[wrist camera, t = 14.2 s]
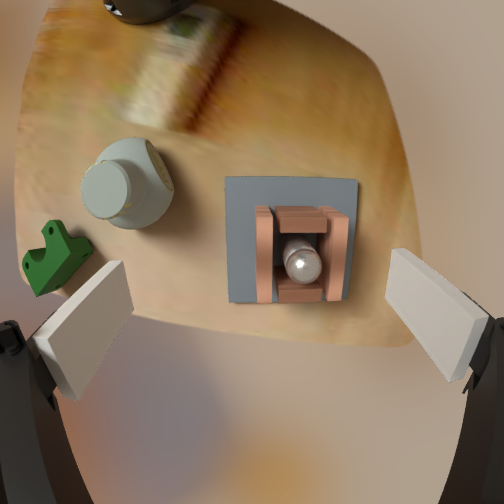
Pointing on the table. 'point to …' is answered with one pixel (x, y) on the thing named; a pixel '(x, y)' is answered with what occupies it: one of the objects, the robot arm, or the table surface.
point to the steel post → (299, 258)
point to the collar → (327, 247)
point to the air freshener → (128, 185)
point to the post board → (276, 194)
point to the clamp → (54, 259)
